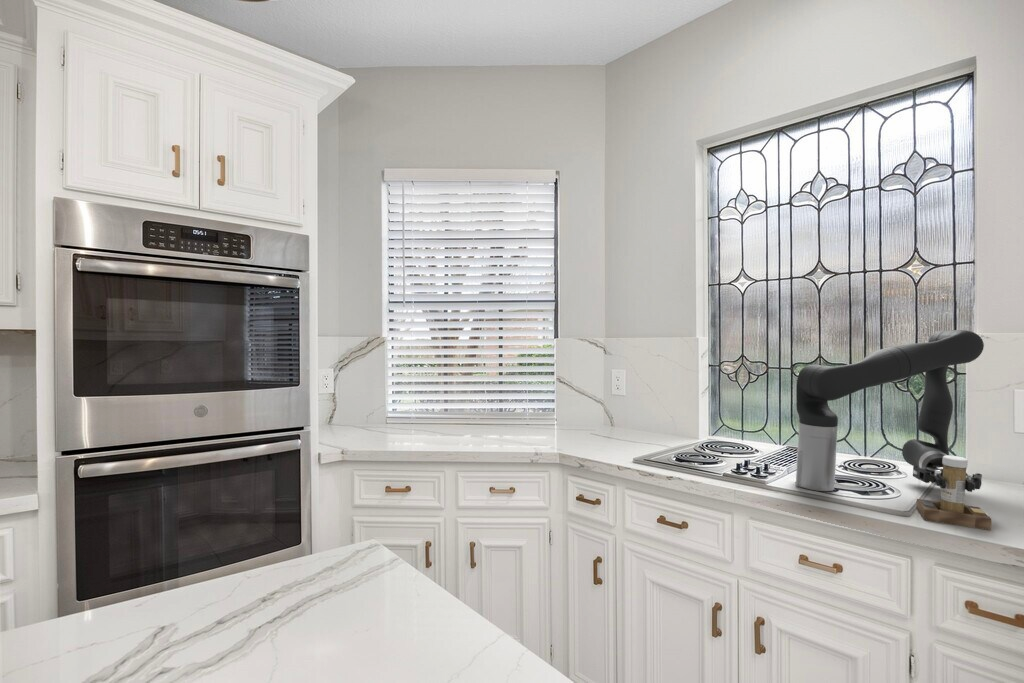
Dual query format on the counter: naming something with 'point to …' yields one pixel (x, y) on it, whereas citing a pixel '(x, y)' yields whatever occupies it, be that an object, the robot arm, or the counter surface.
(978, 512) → the brass tag
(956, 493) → the sprinkles bottle
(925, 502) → the slate tag
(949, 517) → the socket block
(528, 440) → the counter surface
